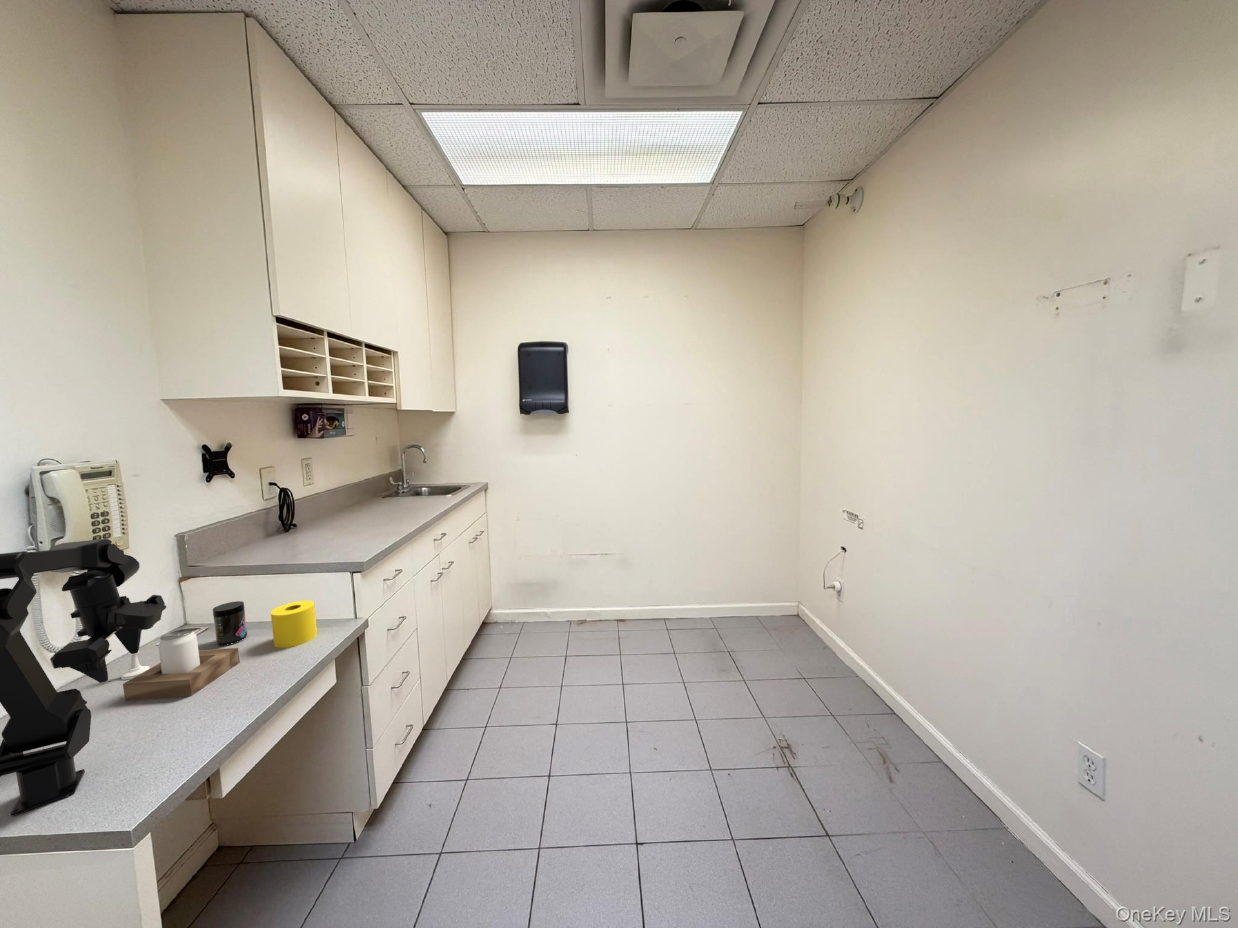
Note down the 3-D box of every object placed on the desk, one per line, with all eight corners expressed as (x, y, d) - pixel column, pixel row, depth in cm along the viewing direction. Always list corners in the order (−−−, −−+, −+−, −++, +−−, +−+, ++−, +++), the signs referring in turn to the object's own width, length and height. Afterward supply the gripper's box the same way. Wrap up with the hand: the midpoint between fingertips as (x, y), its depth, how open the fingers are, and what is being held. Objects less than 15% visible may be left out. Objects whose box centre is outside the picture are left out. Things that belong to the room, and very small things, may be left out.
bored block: (191, 695, 99) (189, 679, 98) (125, 700, 98) (122, 683, 97) (239, 662, 113) (238, 647, 112) (182, 666, 111) (180, 651, 111)
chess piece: (118, 676, 107) (112, 638, 106) (146, 666, 112) (141, 629, 111) (125, 681, 105) (120, 642, 104) (153, 671, 109) (149, 633, 109)
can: (178, 689, 101) (172, 641, 100) (155, 688, 102) (149, 639, 101) (208, 674, 107) (203, 627, 106) (187, 672, 108) (181, 626, 107)
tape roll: (283, 651, 118) (279, 618, 117) (267, 642, 123) (264, 610, 122) (323, 635, 126) (320, 604, 125) (307, 627, 131) (304, 598, 131)
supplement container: (234, 646, 121) (230, 610, 120) (209, 647, 121) (205, 611, 120) (253, 634, 128) (250, 600, 127) (230, 635, 128) (226, 601, 127)
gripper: (118, 616, 81) (141, 686, 84) (176, 571, 98) (193, 632, 101) (35, 629, 77) (63, 703, 81) (110, 581, 94) (130, 643, 98)
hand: (120, 666), depth 90 cm, fingers open, 9 cm apart
